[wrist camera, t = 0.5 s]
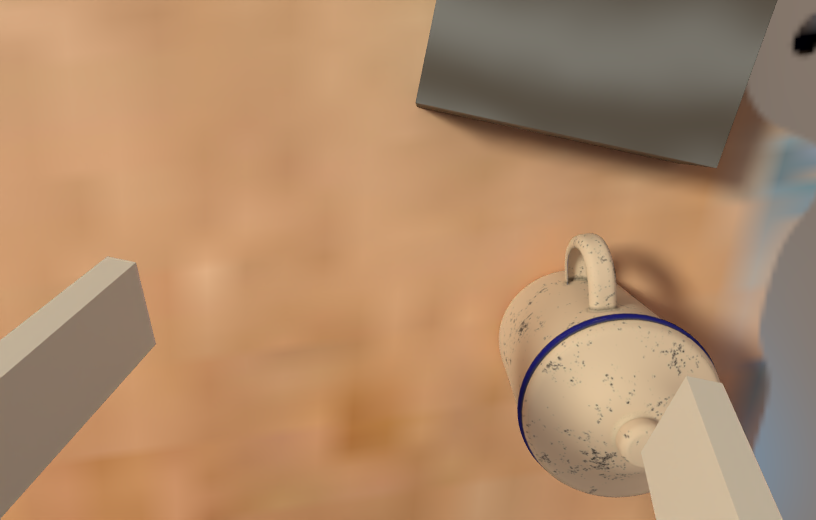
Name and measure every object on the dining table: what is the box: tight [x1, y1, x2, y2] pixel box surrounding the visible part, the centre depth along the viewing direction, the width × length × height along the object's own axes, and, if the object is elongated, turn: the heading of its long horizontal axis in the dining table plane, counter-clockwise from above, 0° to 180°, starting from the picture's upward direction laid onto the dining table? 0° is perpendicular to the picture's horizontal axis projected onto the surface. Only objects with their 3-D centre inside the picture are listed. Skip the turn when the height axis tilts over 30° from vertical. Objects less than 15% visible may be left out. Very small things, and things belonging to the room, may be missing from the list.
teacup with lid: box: [499, 233, 720, 497], centre depth 25 cm, size 12×9×12 cm
